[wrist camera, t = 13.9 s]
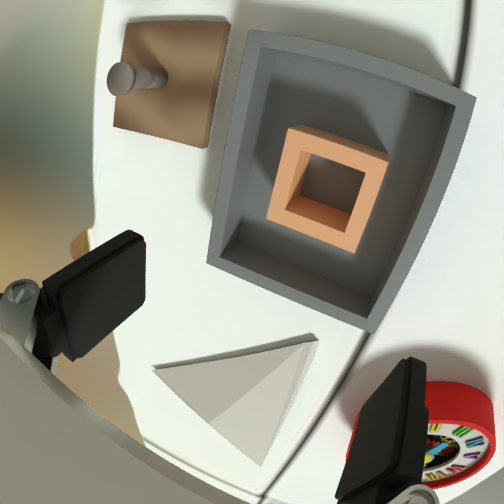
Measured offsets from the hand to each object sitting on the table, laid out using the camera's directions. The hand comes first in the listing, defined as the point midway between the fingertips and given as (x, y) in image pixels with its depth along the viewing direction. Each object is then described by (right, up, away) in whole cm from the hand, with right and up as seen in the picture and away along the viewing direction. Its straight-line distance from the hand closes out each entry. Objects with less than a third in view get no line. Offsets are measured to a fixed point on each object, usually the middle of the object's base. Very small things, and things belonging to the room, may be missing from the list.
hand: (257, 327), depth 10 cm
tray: (+7, +9, +15) cm, 19 cm away
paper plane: (-5, -17, +35) cm, 39 cm away
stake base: (-9, +19, +17) cm, 27 cm away
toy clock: (+23, -21, +23) cm, 39 cm away
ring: (+6, +8, +14) cm, 18 cm away
